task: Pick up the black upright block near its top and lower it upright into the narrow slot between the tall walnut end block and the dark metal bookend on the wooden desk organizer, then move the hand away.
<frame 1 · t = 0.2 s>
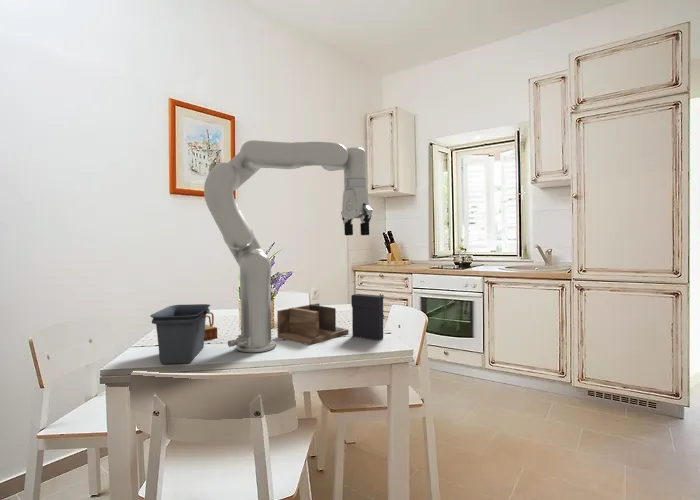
hand: (356, 235, 143), 36 cm above the table, tool pointing down, fingers open, 9 cm apart
carton: (195, 338, 150), on the table
wooden desk organizer: (313, 335, 151), on the table
storage bin: (187, 356, 127), on the table
black upright block: (367, 338, 147), on the table
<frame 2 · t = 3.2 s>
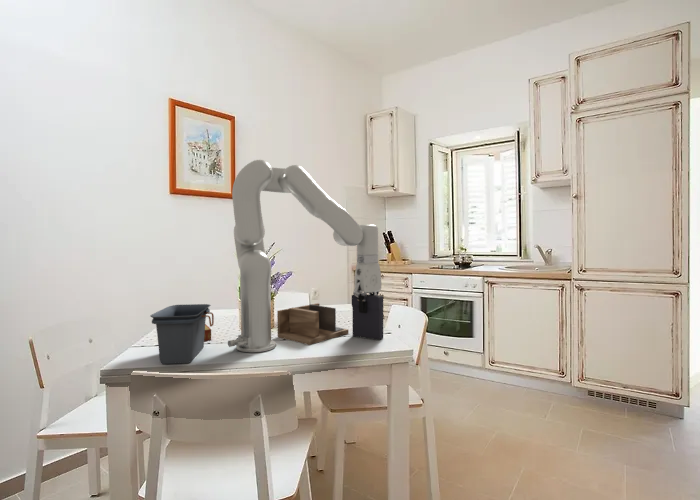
hand: (367, 311, 147), 9 cm above the table, tool pointing down, fingers closed on black upright block, 4 cm apart
black upright block: (367, 337, 147), on the table, touching gripper
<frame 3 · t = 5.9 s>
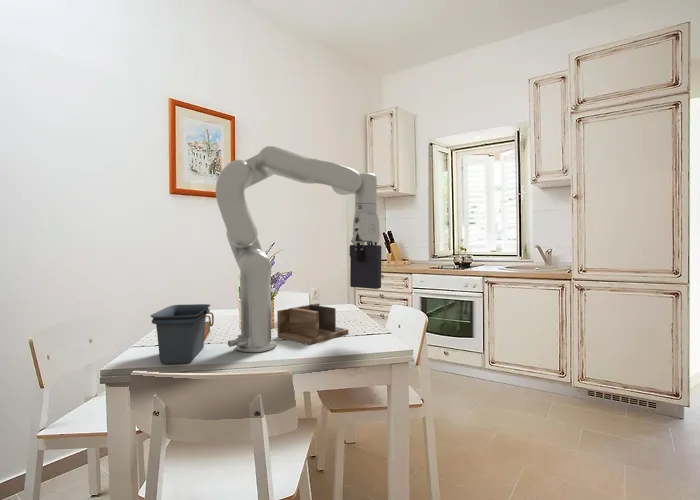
hand: (365, 261, 146), 27 cm above the table, tool pointing down, fingers closed on black upright block, 4 cm apart
black upright block: (365, 288, 147), point 17 cm above the table, touching gripper
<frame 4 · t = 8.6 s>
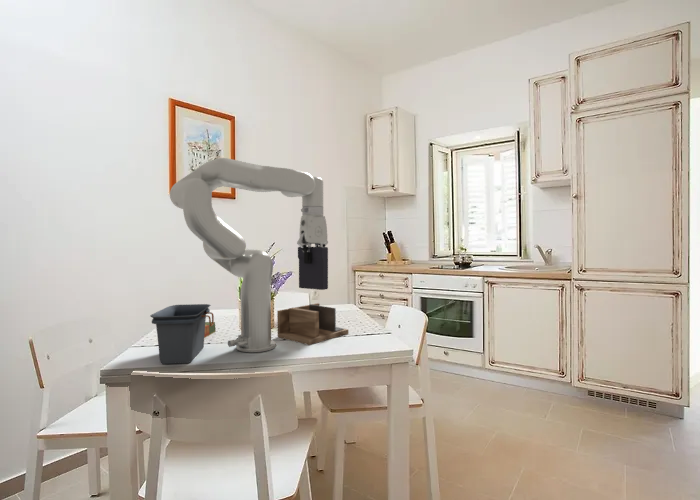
hand: (313, 262, 150), 26 cm above the table, tool pointing down, fingers closed on black upright block, 4 cm apart
black upright block: (313, 289, 150), point 17 cm above the table, touching gripper
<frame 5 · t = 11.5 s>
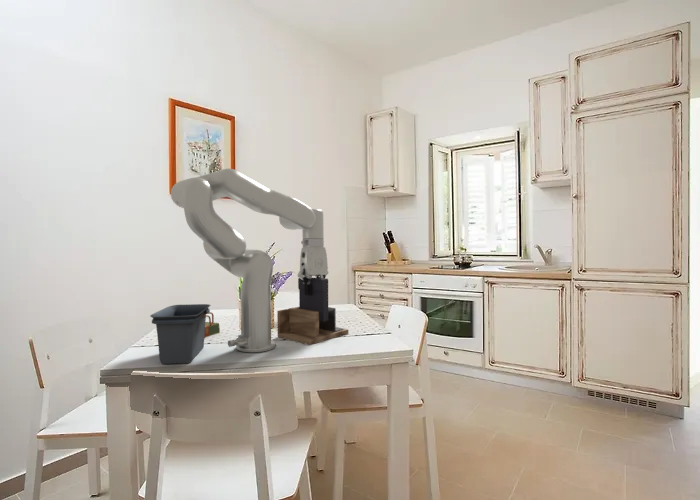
hand: (313, 293, 150), 15 cm above the table, tool pointing down, fingers closed on black upright block, 4 cm apart
black upright block: (313, 320, 150), point 6 cm above the table, touching gripper
when the fingers open (11 cm above the table, at t = 14.2 s): black upright block stays where it is, resting on wooden desk organizer.
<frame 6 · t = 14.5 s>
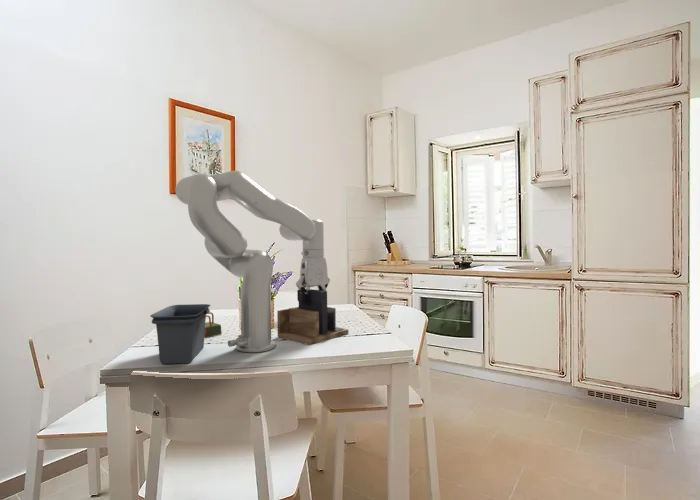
hand: (313, 303, 150), 12 cm above the table, tool pointing down, fingers open, 7 cm apart
black upright block: (313, 332, 150), point 1 cm above the table, touching wooden desk organizer
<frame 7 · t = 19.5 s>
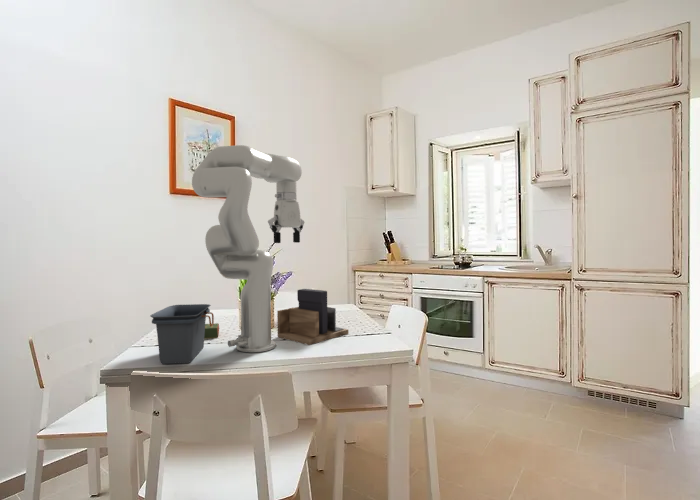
hand: (287, 242, 160), 33 cm above the table, tool pointing down, fingers open, 9 cm apart
at the end: black upright block 0.4 cm off-centre on the wooden desk organizer, point 1.3 cm above the wooden desk organizer's base; black upright block tilted 0°; the gripper is holding nothing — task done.
